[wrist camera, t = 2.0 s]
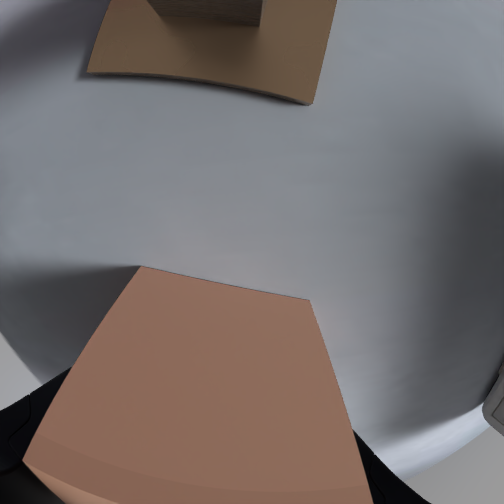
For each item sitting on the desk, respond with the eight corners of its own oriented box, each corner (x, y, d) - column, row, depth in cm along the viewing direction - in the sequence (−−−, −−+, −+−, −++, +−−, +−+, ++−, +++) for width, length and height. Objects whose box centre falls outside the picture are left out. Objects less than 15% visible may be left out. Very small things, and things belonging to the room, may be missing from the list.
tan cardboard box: (266, 404, 11) (276, 554, 4) (139, 380, 10) (94, 526, 4) (309, 300, 9) (375, 512, 3) (141, 265, 8) (22, 460, 2)
